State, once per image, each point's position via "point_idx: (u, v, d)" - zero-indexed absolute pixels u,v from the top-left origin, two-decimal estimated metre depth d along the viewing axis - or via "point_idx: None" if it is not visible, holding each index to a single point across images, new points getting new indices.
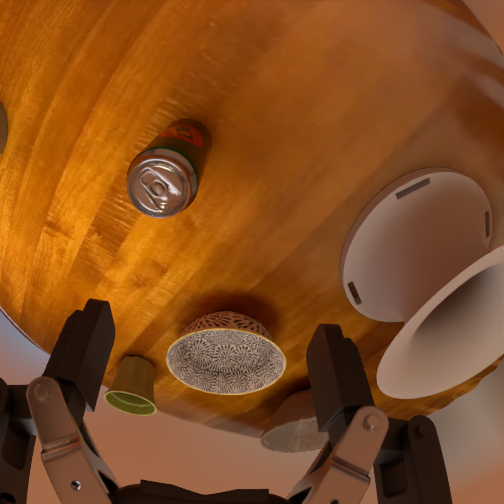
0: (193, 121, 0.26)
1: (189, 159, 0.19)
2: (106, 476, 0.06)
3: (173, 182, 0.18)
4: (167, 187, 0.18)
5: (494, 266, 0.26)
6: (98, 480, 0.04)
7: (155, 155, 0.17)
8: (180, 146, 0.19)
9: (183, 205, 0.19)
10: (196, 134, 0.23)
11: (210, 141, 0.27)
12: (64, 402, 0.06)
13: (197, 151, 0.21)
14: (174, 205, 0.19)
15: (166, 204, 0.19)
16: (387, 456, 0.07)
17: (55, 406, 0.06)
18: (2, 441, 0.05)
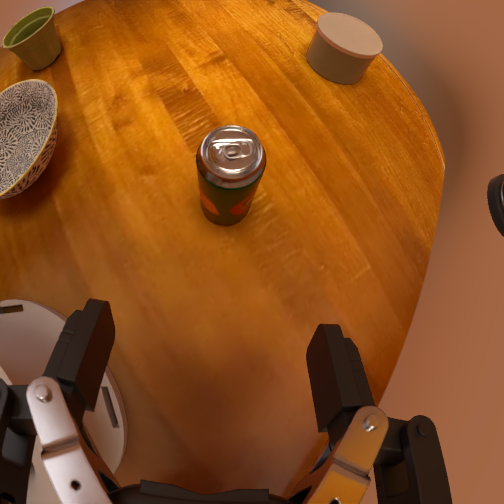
0: (244, 216, 0.30)
1: (240, 189, 0.21)
2: (106, 476, 0.06)
3: (231, 165, 0.20)
4: (229, 158, 0.20)
5: None
6: (98, 480, 0.04)
7: (260, 163, 0.20)
8: (251, 188, 0.22)
9: (206, 163, 0.19)
10: (240, 210, 0.26)
11: (220, 222, 0.29)
12: (64, 402, 0.06)
13: (234, 201, 0.23)
14: (210, 155, 0.20)
15: (213, 151, 0.20)
16: (387, 456, 0.07)
17: (55, 406, 0.06)
18: (2, 441, 0.05)
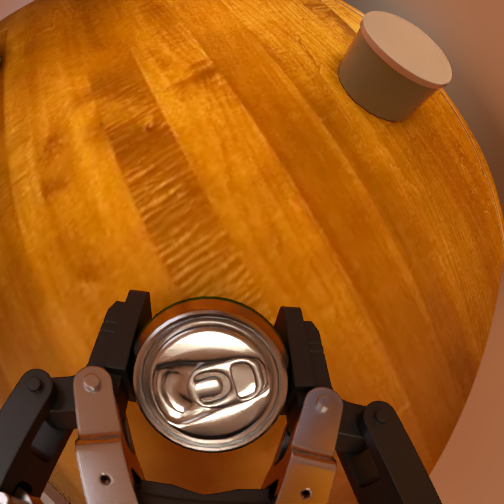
0: None
1: None
2: (136, 474, 0.06)
3: (210, 426, 0.07)
4: (204, 406, 0.07)
5: None
6: (130, 479, 0.05)
7: None
8: None
9: (149, 418, 0.07)
10: None
11: None
12: (113, 396, 0.07)
13: None
14: (156, 399, 0.07)
15: (164, 381, 0.08)
16: (345, 442, 0.08)
17: (102, 398, 0.07)
18: (34, 435, 0.05)
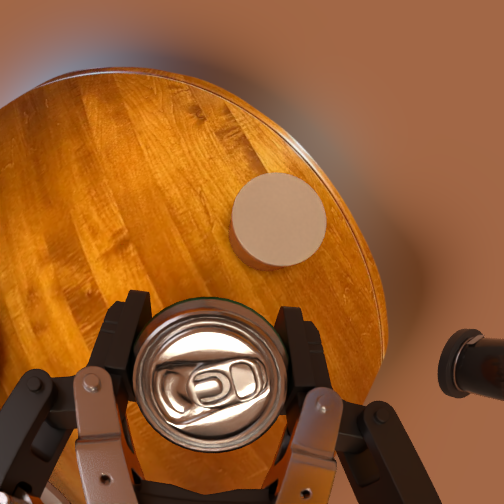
0: None
1: None
2: (136, 474, 0.06)
3: (209, 426, 0.07)
4: (203, 406, 0.07)
5: None
6: (130, 479, 0.05)
7: None
8: None
9: (149, 418, 0.07)
10: None
11: None
12: (113, 396, 0.07)
13: None
14: (155, 400, 0.07)
15: (163, 381, 0.08)
16: (345, 442, 0.08)
17: (102, 398, 0.07)
18: (34, 435, 0.05)
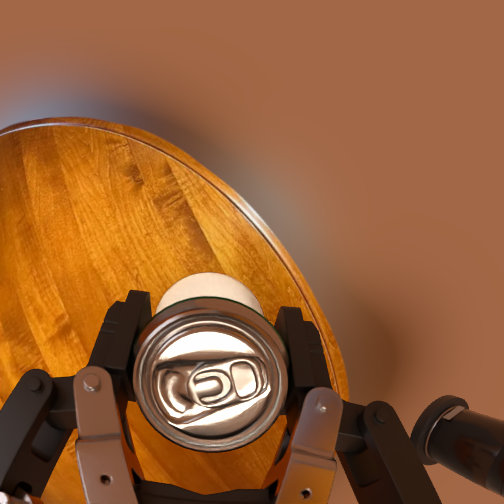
0: None
1: None
2: (136, 474, 0.06)
3: (210, 426, 0.07)
4: (203, 406, 0.07)
5: None
6: (130, 479, 0.05)
7: None
8: None
9: (149, 418, 0.07)
10: None
11: None
12: (113, 396, 0.07)
13: None
14: (155, 399, 0.07)
15: (164, 381, 0.08)
16: (345, 442, 0.08)
17: (102, 398, 0.07)
18: (34, 435, 0.05)
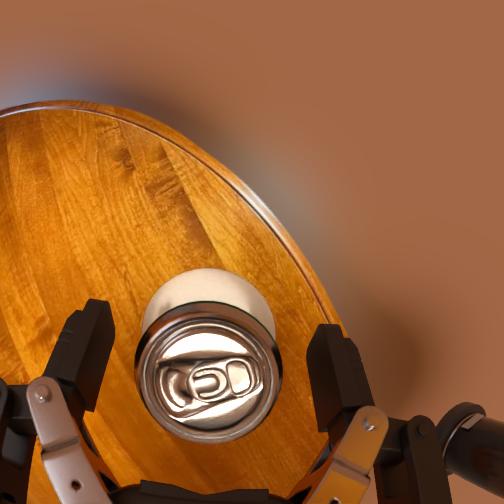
0: None
1: None
2: (106, 476, 0.06)
3: (207, 419, 0.08)
4: (202, 401, 0.08)
5: None
6: (98, 480, 0.04)
7: (271, 401, 0.09)
8: None
9: (152, 412, 0.08)
10: None
11: None
12: (64, 402, 0.06)
13: None
14: (158, 395, 0.08)
15: (166, 378, 0.08)
16: (387, 456, 0.07)
17: (55, 406, 0.06)
18: (2, 441, 0.05)
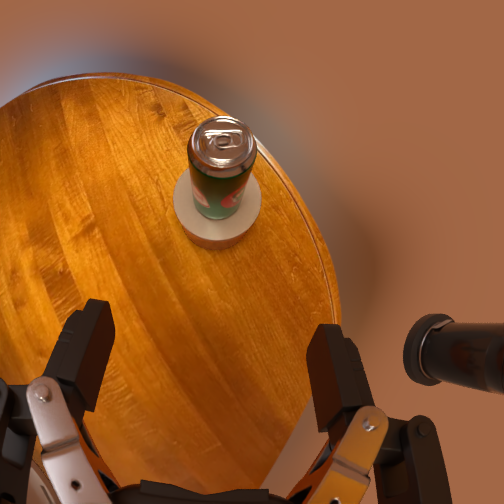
0: (235, 210, 0.30)
1: (230, 179, 0.21)
2: (106, 476, 0.06)
3: (222, 155, 0.19)
4: (220, 148, 0.20)
5: None
6: (98, 480, 0.04)
7: (250, 154, 0.20)
8: (241, 179, 0.22)
9: (196, 152, 0.19)
10: (230, 203, 0.26)
11: (211, 215, 0.29)
12: (64, 402, 0.06)
13: (224, 193, 0.23)
14: (200, 145, 0.19)
15: (204, 140, 0.20)
16: (387, 456, 0.07)
17: (55, 406, 0.06)
18: (2, 441, 0.05)
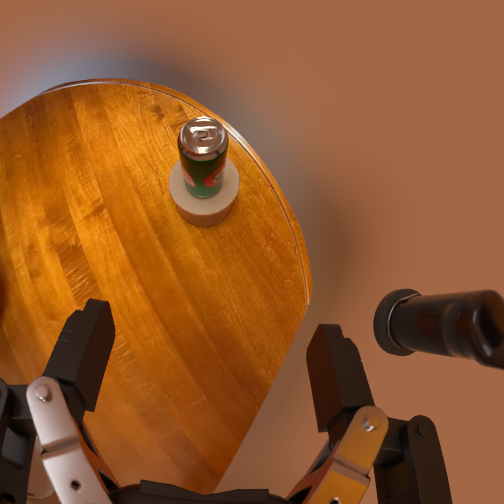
0: (217, 190, 0.37)
1: (208, 162, 0.28)
2: (106, 476, 0.06)
3: (201, 144, 0.27)
4: (200, 140, 0.27)
5: None
6: (98, 480, 0.04)
7: (223, 143, 0.27)
8: (217, 162, 0.29)
9: (183, 142, 0.26)
10: (211, 183, 0.34)
11: (197, 194, 0.36)
12: (64, 402, 0.06)
13: (205, 173, 0.30)
14: (186, 137, 0.27)
15: (189, 134, 0.27)
16: (387, 456, 0.07)
17: (55, 406, 0.06)
18: (2, 441, 0.05)
